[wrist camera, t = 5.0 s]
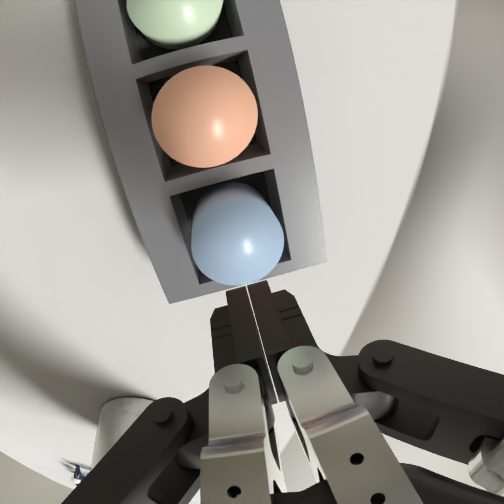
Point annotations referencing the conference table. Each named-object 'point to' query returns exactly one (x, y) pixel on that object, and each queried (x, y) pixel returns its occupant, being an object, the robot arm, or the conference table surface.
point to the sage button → (175, 20)
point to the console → (188, 178)
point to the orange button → (204, 116)
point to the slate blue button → (235, 234)
